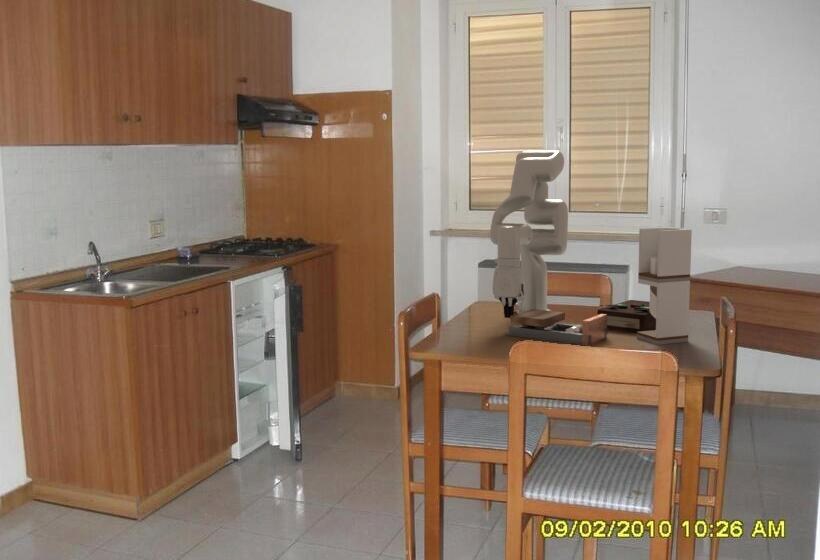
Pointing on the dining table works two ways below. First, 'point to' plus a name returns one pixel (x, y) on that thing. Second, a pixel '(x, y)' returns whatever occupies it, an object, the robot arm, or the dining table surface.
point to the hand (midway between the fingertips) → (508, 317)
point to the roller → (574, 329)
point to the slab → (537, 317)
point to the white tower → (666, 281)
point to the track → (591, 332)
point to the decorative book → (629, 316)
